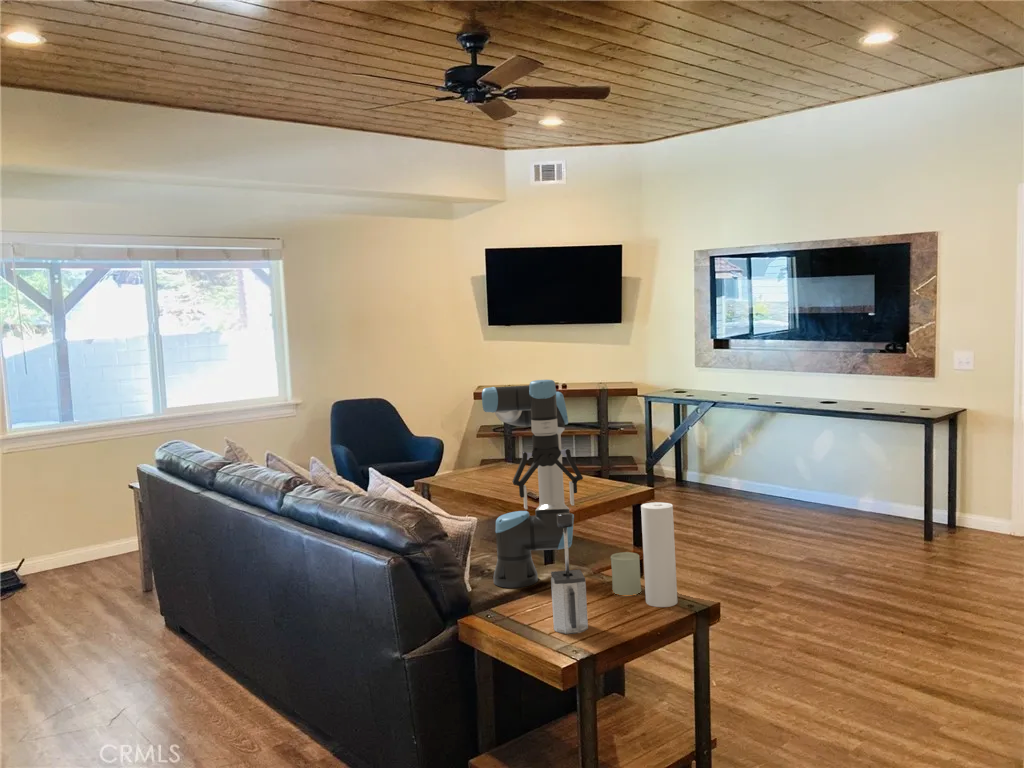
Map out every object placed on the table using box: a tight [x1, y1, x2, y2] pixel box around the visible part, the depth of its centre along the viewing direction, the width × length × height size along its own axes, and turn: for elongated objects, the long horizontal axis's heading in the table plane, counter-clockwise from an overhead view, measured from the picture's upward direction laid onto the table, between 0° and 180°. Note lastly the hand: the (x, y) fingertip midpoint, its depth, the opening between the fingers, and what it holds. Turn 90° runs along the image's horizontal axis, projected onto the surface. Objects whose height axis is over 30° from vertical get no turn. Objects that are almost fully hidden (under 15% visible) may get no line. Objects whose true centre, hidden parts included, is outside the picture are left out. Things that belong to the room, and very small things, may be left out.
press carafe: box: [550, 569, 589, 635], centre depth 213 cm, size 12×10×15 cm
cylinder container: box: [640, 501, 678, 608], centre depth 231 cm, size 9×9×30 cm
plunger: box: [557, 512, 574, 576], centre depth 214 cm, size 7×7×20 cm
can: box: [610, 551, 642, 595], centre depth 243 cm, size 9×9×12 cm
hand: (549, 506), depth 221 cm, fingers open, 13 cm apart
